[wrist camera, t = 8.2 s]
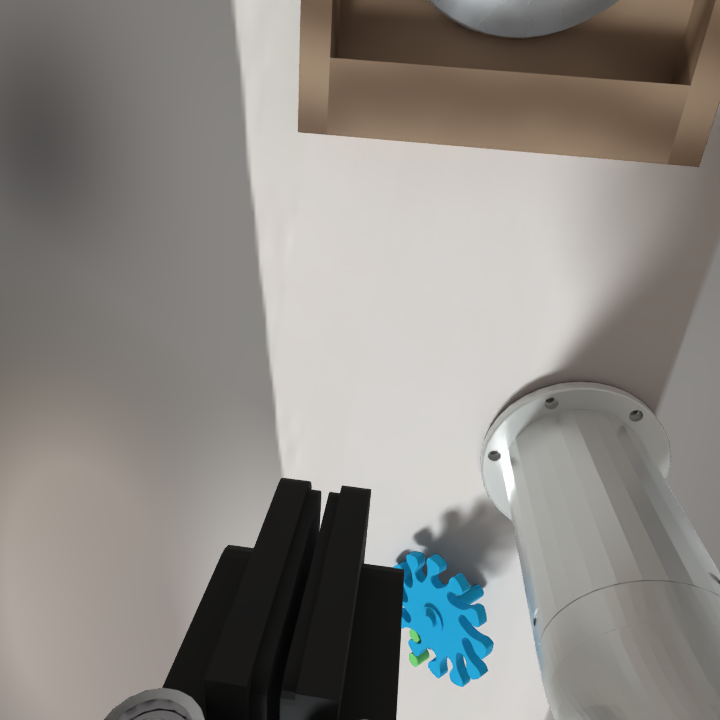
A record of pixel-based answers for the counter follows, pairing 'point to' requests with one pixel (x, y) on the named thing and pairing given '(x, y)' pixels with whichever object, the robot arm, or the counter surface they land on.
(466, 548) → the counter surface
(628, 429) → the robot arm
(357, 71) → the dial panel
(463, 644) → the gear
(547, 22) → the dial
